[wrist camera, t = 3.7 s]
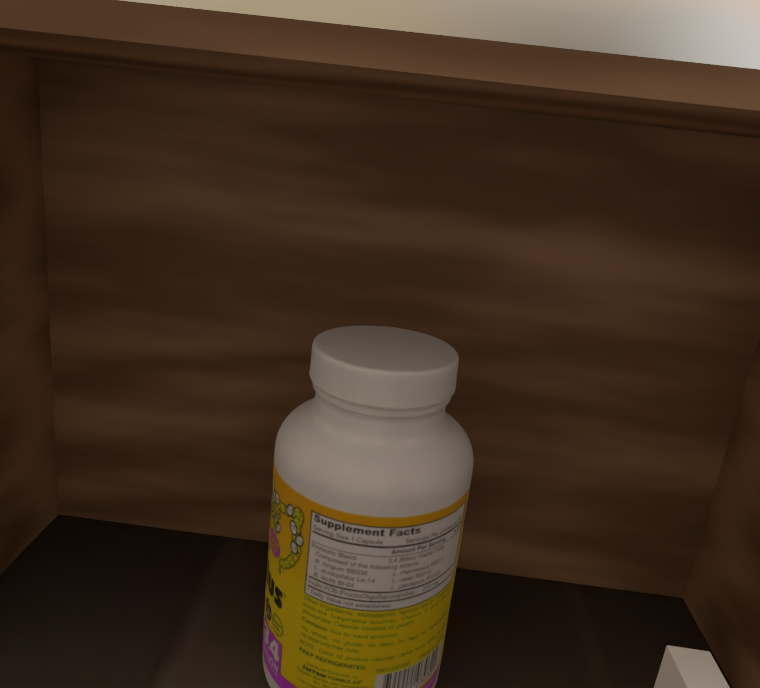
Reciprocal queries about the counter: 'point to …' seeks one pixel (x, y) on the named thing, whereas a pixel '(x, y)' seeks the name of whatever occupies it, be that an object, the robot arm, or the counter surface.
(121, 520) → the cubby
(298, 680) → the supplement bottle
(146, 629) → the counter surface
